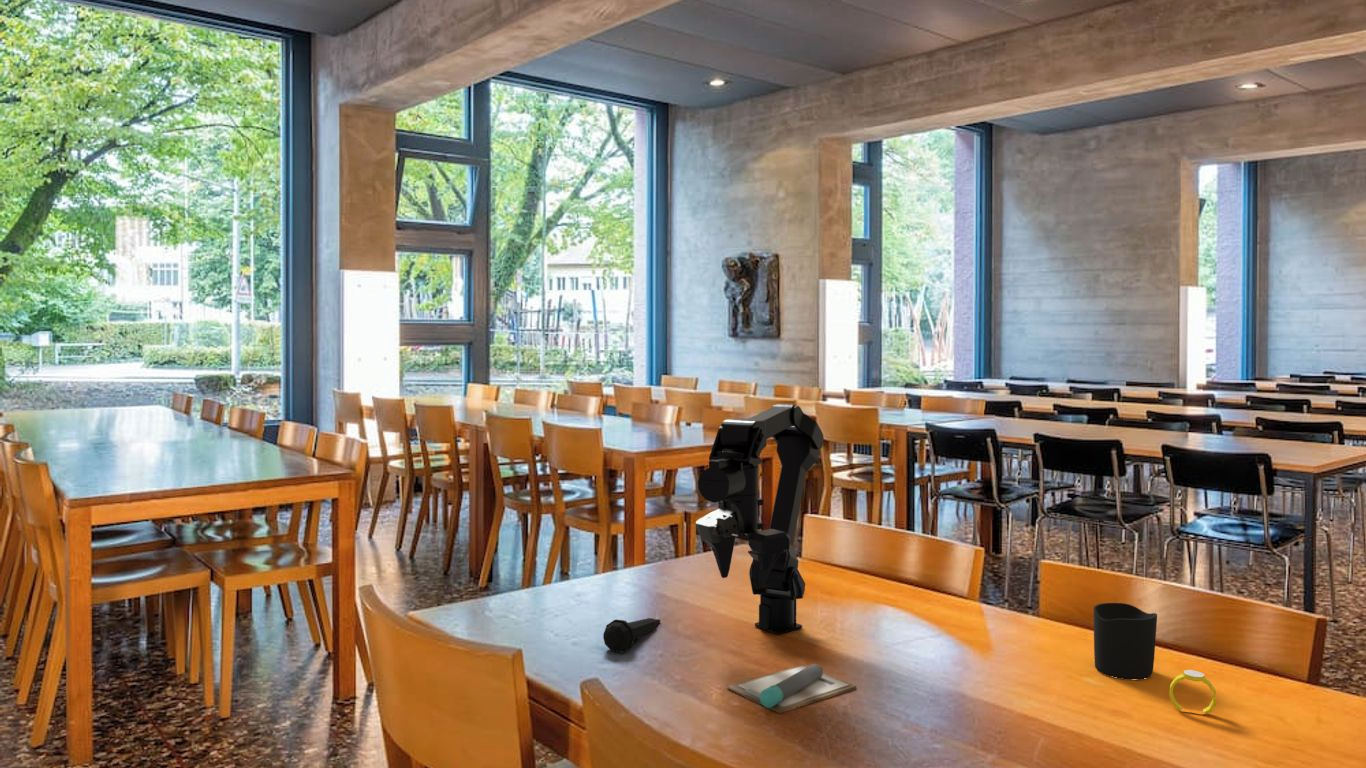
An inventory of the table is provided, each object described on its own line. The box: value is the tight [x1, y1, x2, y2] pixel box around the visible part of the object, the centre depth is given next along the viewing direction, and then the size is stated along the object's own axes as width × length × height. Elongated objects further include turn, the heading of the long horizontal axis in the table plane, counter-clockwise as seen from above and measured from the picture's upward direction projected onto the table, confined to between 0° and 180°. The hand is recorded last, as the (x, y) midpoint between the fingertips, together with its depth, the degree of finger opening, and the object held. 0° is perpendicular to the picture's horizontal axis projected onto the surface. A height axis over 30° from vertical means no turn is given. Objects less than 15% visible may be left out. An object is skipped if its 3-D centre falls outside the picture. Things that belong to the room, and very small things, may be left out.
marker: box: [760, 663, 824, 709], centre depth 152 cm, size 16×3×3 cm
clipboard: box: [726, 664, 857, 714], centre depth 155 cm, size 16×12×1 cm
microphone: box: [602, 617, 661, 653], centre depth 180 cm, size 6×6×20 cm
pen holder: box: [1093, 602, 1158, 680], centre depth 161 cm, size 9×9×10 cm
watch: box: [1169, 669, 1217, 714], centre depth 145 cm, size 6×3×6 cm, turn 64°
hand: (741, 583), depth 171 cm, fingers open, 9 cm apart
